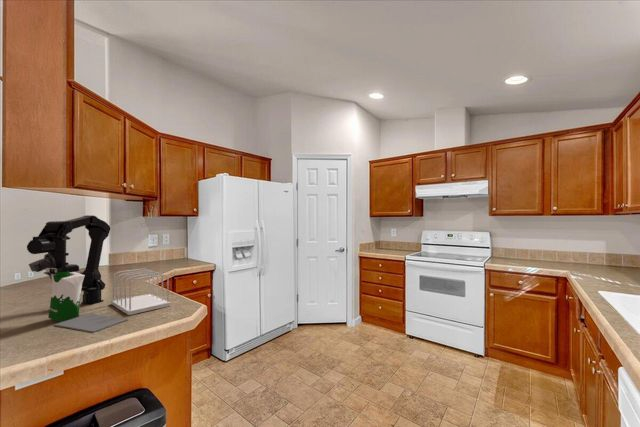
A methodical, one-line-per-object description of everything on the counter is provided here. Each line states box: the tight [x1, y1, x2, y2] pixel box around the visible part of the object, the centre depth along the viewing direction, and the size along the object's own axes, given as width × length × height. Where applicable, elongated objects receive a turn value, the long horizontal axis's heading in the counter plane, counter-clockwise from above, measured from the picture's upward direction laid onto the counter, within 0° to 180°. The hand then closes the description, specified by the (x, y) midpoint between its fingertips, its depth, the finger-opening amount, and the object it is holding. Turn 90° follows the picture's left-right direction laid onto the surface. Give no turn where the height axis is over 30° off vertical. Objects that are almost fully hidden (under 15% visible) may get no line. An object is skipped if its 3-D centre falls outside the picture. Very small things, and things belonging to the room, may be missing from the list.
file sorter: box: [110, 268, 172, 316], centre depth 137 cm, size 25×17×16 cm
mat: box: [53, 313, 129, 334], centre depth 114 cm, size 13×22×1 cm, turn 72°
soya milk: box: [47, 271, 85, 323], centre depth 119 cm, size 9×9×20 cm
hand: (56, 288), depth 121 cm, fingers closed
